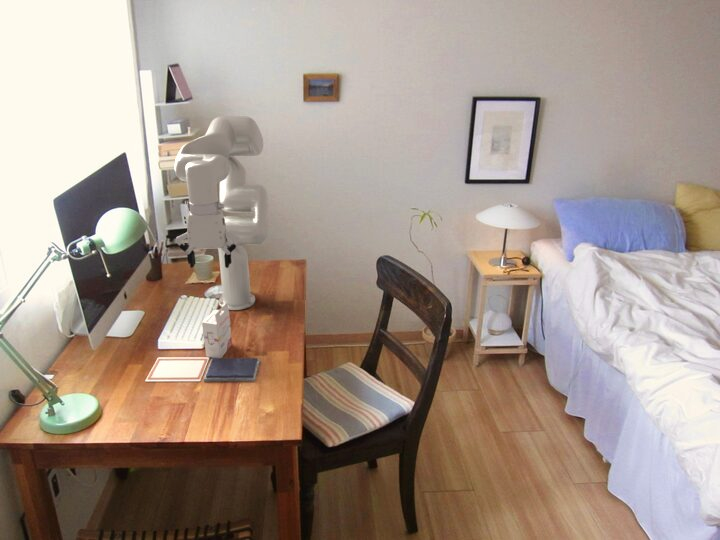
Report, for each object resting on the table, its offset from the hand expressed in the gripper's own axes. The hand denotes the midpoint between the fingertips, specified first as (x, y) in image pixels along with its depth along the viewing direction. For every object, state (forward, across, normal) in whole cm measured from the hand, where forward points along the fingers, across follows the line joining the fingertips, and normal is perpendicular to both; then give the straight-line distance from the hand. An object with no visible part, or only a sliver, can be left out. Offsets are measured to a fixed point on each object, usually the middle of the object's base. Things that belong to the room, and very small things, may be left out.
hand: (210, 265), depth 158 cm
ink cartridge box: (+28, 0, 0) cm, 28 cm away
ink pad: (+28, -6, +11) cm, 30 cm away
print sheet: (+28, +10, +10) cm, 31 cm away
